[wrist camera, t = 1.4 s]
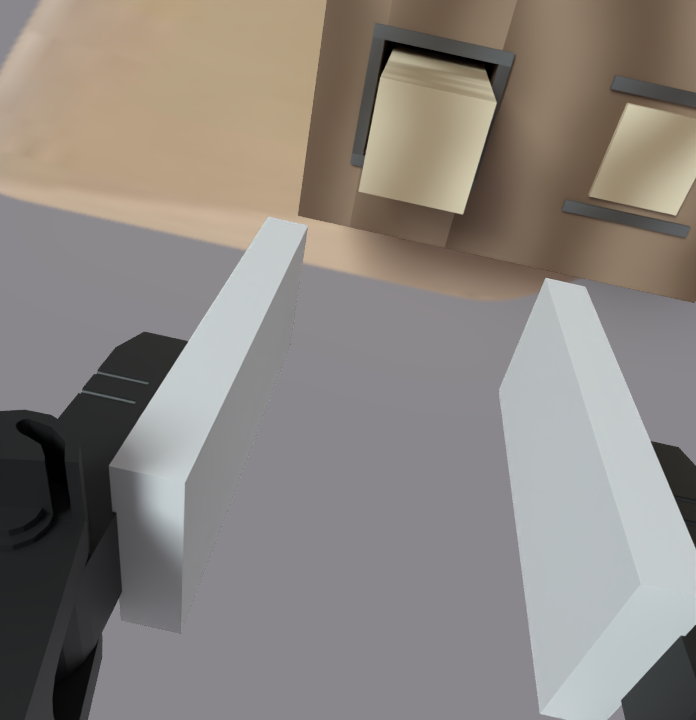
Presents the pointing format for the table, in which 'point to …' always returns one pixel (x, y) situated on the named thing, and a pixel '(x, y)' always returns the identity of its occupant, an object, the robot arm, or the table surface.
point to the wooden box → (532, 133)
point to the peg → (427, 129)
